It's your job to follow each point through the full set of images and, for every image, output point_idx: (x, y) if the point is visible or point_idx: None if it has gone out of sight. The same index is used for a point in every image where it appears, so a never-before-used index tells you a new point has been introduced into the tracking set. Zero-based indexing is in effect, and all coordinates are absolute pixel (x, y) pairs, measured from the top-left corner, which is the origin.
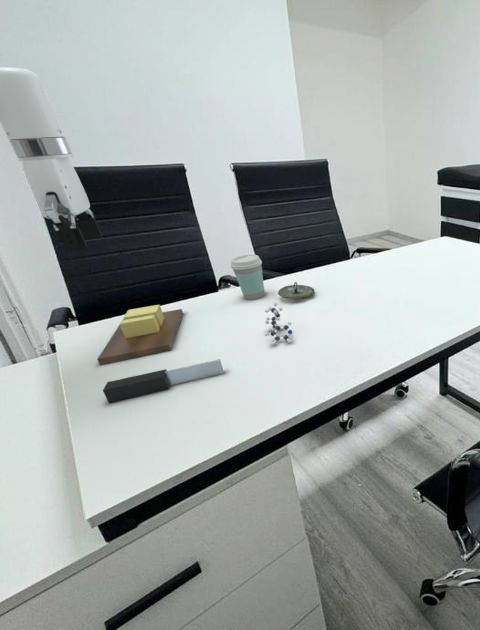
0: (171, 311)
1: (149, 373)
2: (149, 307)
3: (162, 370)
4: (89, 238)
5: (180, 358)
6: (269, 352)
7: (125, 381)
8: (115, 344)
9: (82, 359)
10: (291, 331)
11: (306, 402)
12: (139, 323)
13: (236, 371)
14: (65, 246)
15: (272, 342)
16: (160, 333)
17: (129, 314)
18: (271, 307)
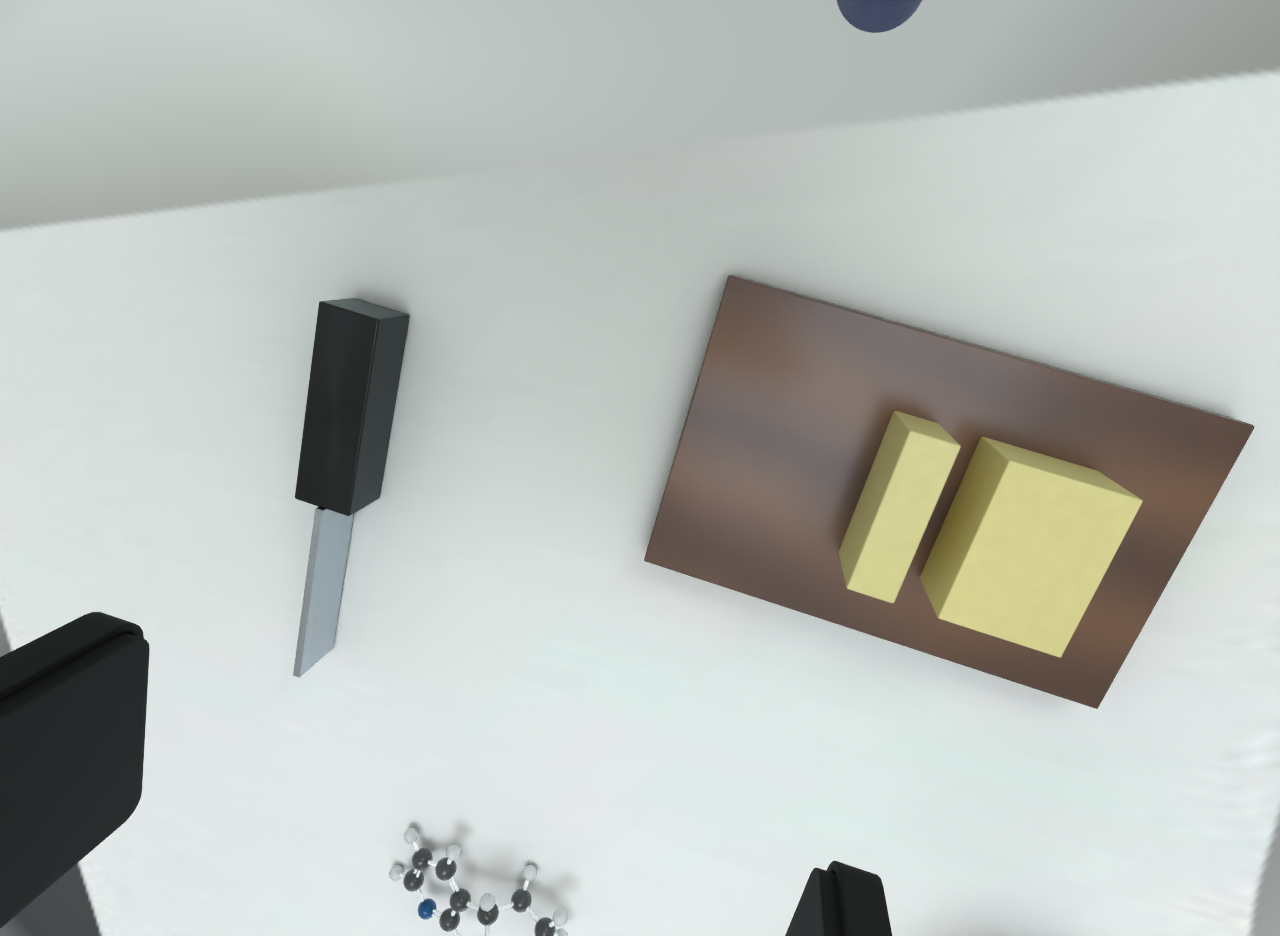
0: (1107, 661)
1: (350, 461)
2: (1060, 605)
3: (346, 503)
4: (793, 924)
5: (542, 561)
6: (376, 796)
7: (339, 380)
8: (851, 361)
9: (873, 197)
10: (419, 914)
11: None
12: (870, 515)
13: (315, 676)
14: (40, 653)
15: (406, 835)
16: (814, 556)
17: (1034, 495)
18: None
